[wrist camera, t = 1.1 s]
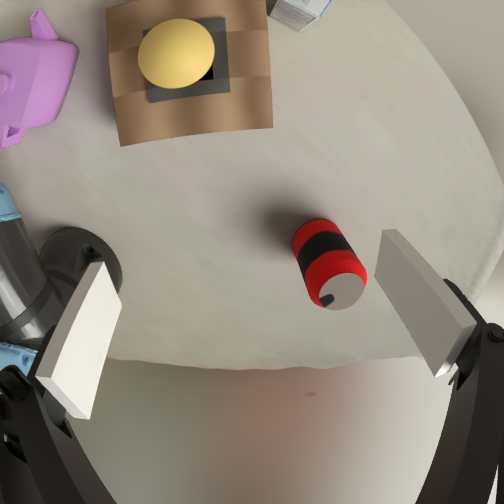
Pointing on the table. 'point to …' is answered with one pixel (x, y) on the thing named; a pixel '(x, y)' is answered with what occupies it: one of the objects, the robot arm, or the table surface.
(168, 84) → the peg
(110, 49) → the socket
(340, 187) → the table surface
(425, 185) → the table surface
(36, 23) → the teapot
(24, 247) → the robot arm
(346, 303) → the soda can
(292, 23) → the medicine box
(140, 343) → the table surface
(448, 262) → the table surface
